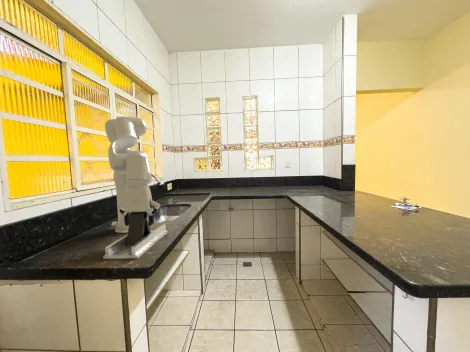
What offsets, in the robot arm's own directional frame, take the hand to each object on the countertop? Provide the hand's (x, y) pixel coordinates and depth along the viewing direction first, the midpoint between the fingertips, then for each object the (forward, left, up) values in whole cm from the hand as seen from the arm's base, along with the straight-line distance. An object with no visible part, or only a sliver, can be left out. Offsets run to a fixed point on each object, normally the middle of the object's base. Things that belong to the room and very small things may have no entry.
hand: (139, 224), depth 83 cm
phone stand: (0, 0, -7) cm, 7 cm away
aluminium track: (0, 0, -8) cm, 8 cm away
